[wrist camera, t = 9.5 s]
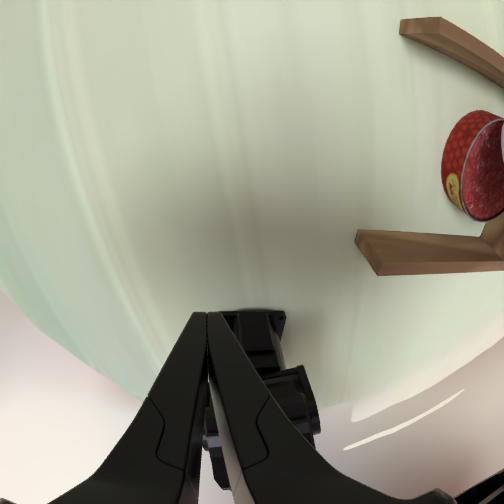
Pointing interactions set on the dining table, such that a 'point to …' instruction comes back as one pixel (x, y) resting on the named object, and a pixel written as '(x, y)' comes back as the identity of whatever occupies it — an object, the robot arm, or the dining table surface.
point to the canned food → (475, 165)
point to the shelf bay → (439, 245)
